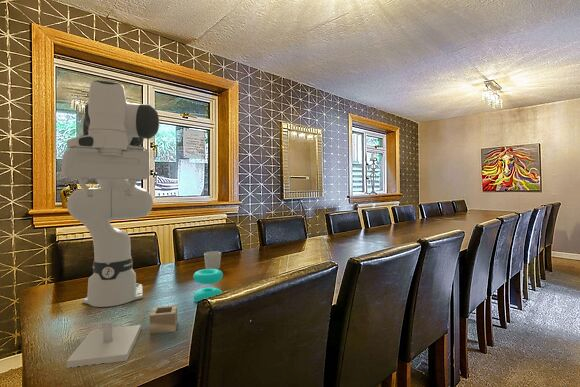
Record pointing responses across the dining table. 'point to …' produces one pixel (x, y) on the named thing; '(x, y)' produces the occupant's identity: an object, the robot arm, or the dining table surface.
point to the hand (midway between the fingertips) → (109, 196)
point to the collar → (163, 319)
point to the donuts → (207, 278)
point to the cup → (212, 260)
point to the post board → (105, 345)
